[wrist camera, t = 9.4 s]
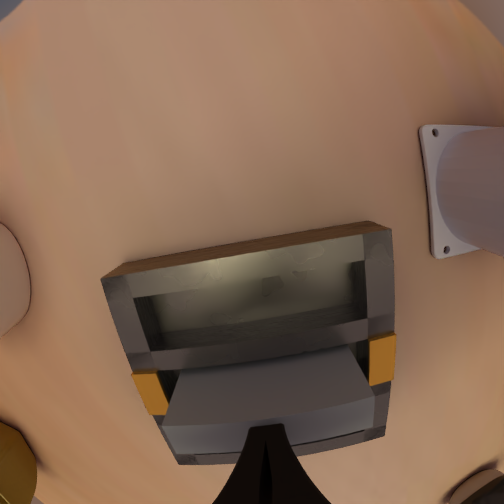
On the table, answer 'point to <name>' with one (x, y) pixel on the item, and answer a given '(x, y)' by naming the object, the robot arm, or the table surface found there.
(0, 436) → the flower pot
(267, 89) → the table surface
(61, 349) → the table surface
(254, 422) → the panel
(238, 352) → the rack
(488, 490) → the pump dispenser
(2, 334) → the candle holder
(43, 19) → the table surface
